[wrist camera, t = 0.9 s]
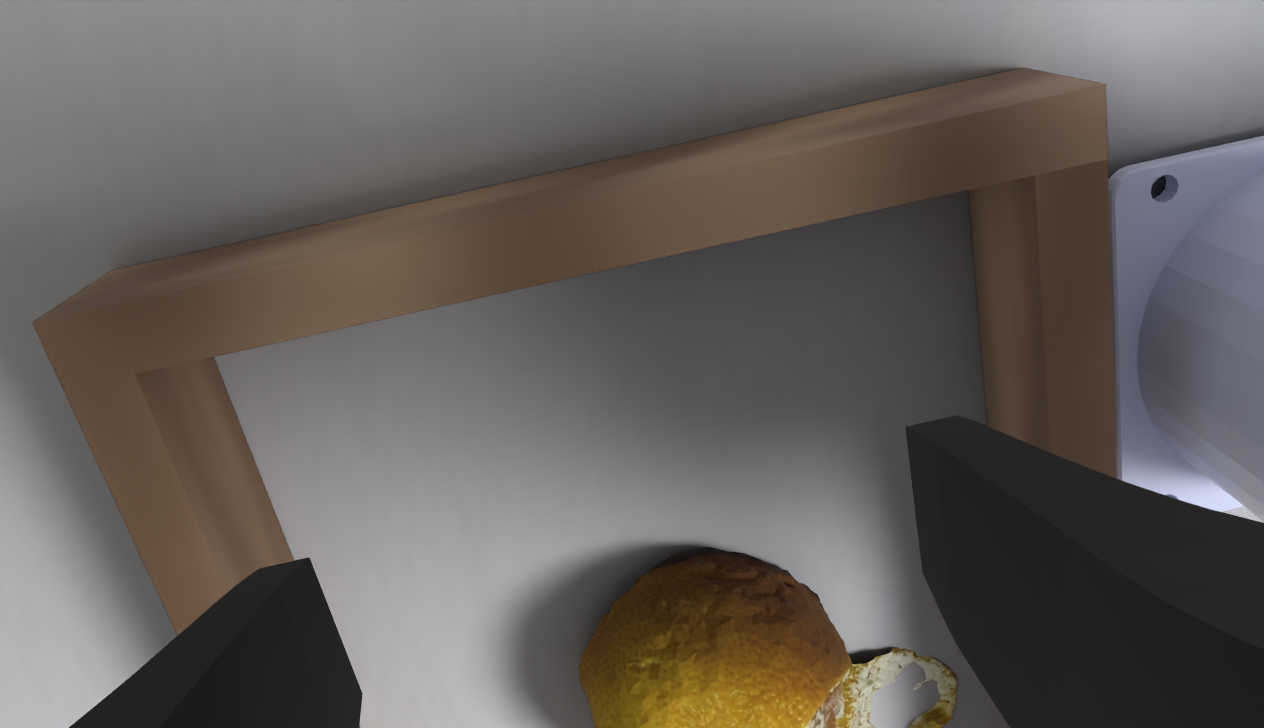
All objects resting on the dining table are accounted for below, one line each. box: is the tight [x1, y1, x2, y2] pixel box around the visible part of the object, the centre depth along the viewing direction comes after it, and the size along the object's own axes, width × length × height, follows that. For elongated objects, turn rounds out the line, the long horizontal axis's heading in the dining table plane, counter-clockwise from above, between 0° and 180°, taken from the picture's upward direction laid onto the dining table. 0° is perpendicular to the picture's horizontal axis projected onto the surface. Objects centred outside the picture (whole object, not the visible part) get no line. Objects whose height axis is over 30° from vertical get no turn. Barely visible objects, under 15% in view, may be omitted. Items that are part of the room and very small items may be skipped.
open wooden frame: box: [32, 68, 1117, 728], centre depth 20 cm, size 17×18×3 cm
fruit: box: [579, 548, 957, 728], centre depth 22 cm, size 8×8×4 cm
